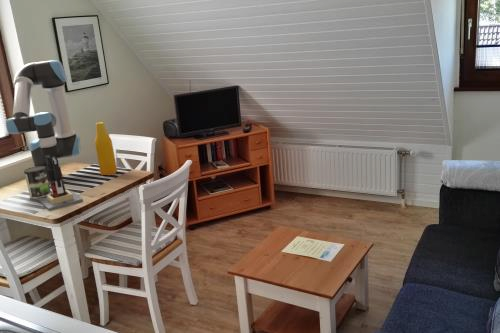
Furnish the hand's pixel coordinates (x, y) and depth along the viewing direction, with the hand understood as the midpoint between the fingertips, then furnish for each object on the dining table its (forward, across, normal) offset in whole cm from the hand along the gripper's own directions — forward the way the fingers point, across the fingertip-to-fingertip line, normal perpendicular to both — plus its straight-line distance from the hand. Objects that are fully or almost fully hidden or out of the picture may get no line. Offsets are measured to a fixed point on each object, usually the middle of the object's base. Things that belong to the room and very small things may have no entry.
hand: (58, 191), depth 250 cm
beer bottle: (+5, -27, +34) cm, 44 cm away
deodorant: (+4, 0, 0) cm, 4 cm away
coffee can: (+5, -20, -5) cm, 21 cm away
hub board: (+5, 0, 0) cm, 5 cm away
